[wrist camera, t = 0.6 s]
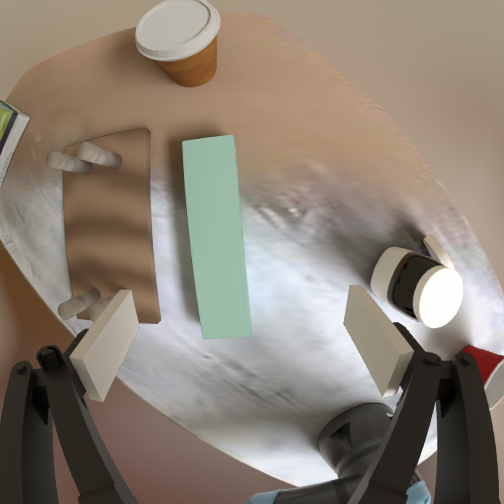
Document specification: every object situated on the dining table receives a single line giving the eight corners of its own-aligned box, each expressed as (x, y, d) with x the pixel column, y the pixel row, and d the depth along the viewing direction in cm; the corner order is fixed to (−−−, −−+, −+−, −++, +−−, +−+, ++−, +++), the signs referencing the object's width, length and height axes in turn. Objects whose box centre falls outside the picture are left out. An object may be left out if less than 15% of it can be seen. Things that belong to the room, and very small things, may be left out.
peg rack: (161, 319, 37) (135, 350, 27) (82, 315, 37) (47, 338, 27) (150, 130, 33) (120, 108, 24) (70, 148, 33) (31, 136, 24)
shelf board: (251, 323, 37) (251, 336, 33) (207, 326, 37) (203, 338, 33) (235, 143, 34) (233, 134, 30) (189, 148, 34) (182, 141, 30)
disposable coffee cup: (149, 82, 32) (115, 42, 20) (188, 36, 31) (169, -12, 19) (201, 108, 33) (179, 65, 21) (241, 59, 32) (237, 6, 20)
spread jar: (357, 287, 36) (395, 317, 24) (389, 212, 34) (439, 214, 23) (416, 314, 36) (459, 344, 25) (445, 248, 35) (496, 260, 24)
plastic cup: (488, 345, 38) (524, 369, 26) (457, 388, 39) (488, 418, 27) (471, 322, 37) (512, 346, 25) (436, 370, 38) (471, 404, 26)
